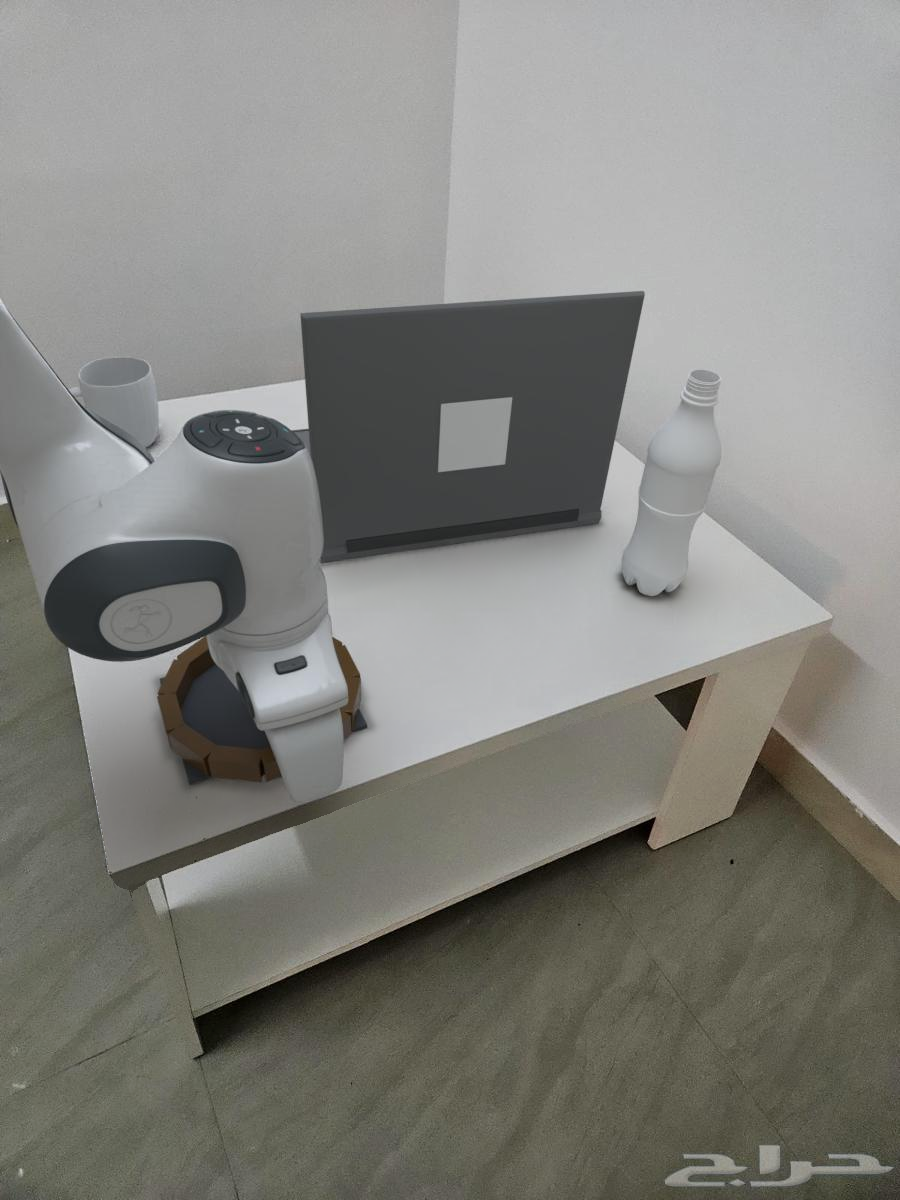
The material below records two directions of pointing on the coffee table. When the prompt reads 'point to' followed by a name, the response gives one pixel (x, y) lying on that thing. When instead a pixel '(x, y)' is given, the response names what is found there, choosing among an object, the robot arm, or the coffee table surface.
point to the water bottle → (674, 488)
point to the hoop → (225, 758)
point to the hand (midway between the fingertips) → (283, 744)
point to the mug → (121, 394)
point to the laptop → (463, 417)
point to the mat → (224, 717)
